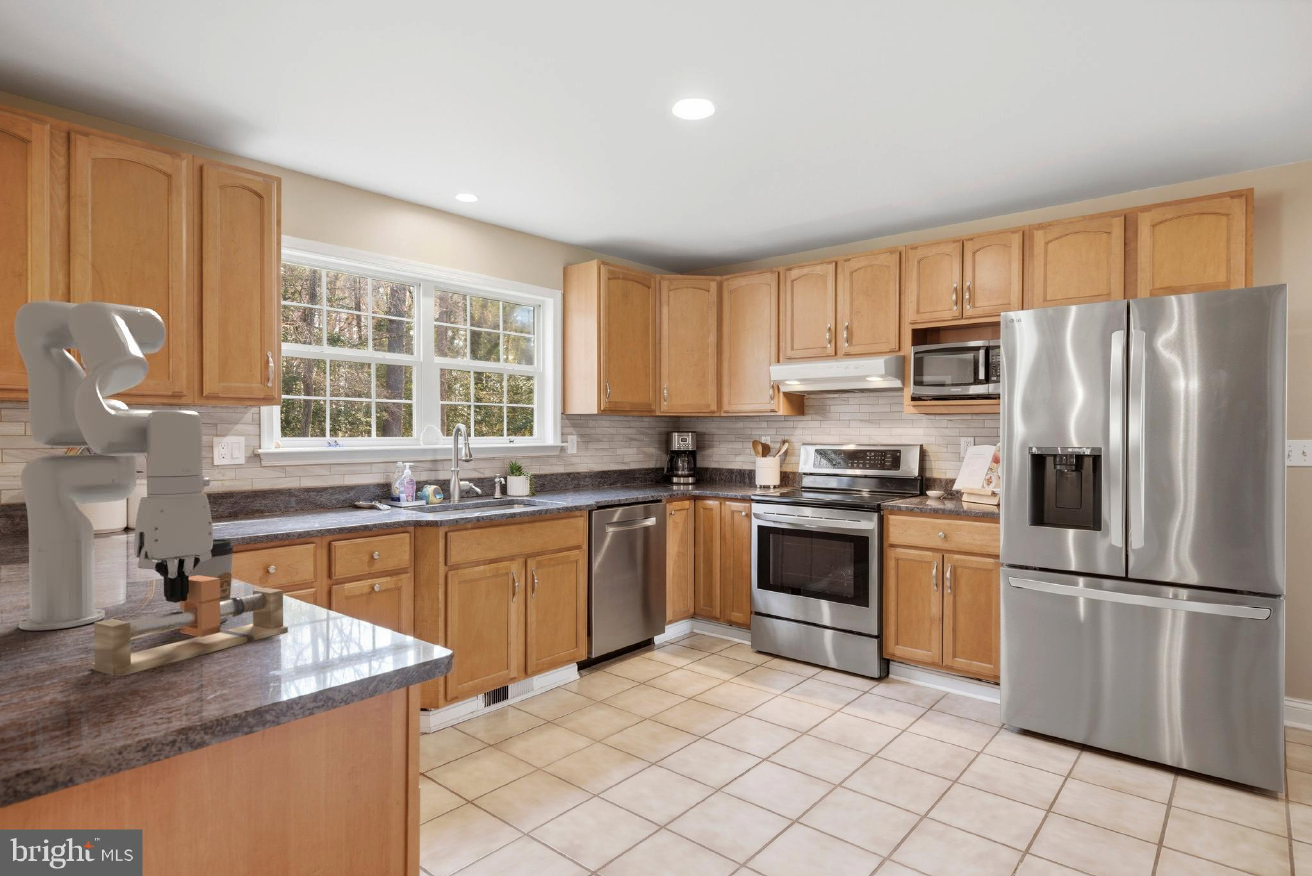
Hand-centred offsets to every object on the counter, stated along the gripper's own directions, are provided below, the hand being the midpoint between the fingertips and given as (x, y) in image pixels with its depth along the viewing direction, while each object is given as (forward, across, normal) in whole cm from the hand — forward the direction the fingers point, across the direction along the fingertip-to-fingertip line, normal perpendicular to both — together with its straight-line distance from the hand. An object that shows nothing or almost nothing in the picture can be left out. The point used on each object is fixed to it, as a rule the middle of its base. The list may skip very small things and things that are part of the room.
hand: (176, 600), depth 118 cm
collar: (+6, -4, 0) cm, 7 cm away
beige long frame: (+9, -3, 0) cm, 9 cm away
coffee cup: (+9, -15, -16) cm, 23 cm away
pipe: (+5, -3, 0) cm, 6 cm away
